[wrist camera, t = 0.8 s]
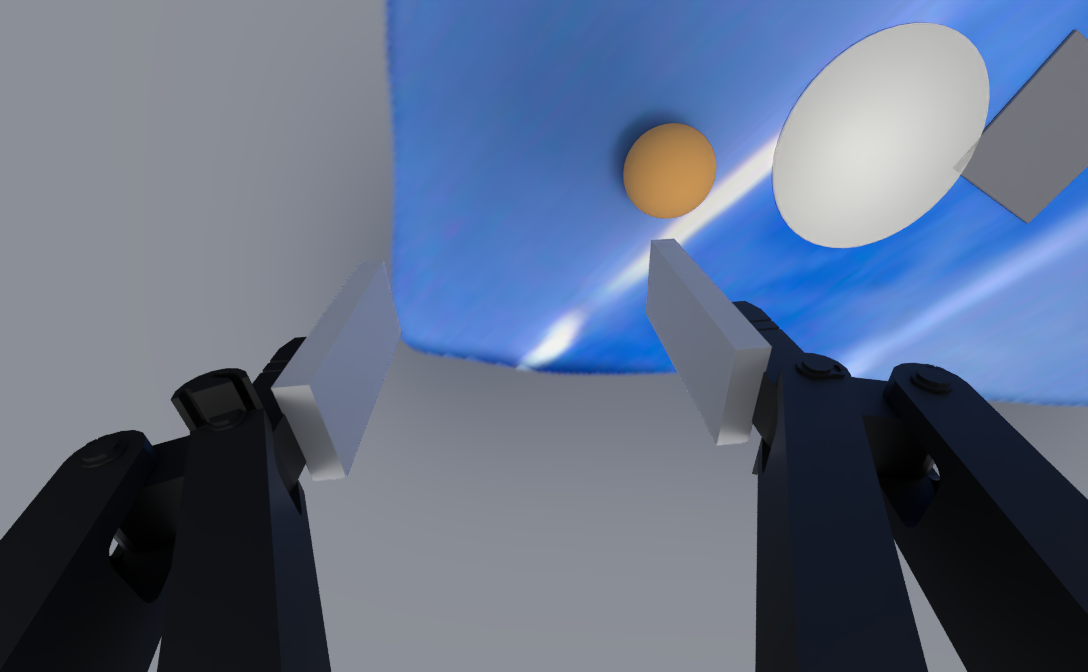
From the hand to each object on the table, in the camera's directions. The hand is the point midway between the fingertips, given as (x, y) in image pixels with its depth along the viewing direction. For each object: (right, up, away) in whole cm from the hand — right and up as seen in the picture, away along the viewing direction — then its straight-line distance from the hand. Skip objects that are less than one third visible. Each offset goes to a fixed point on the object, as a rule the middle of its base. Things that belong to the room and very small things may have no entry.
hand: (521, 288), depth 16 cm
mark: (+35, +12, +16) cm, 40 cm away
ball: (+8, +8, +13) cm, 17 cm away
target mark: (+23, +11, +16) cm, 30 cm away
